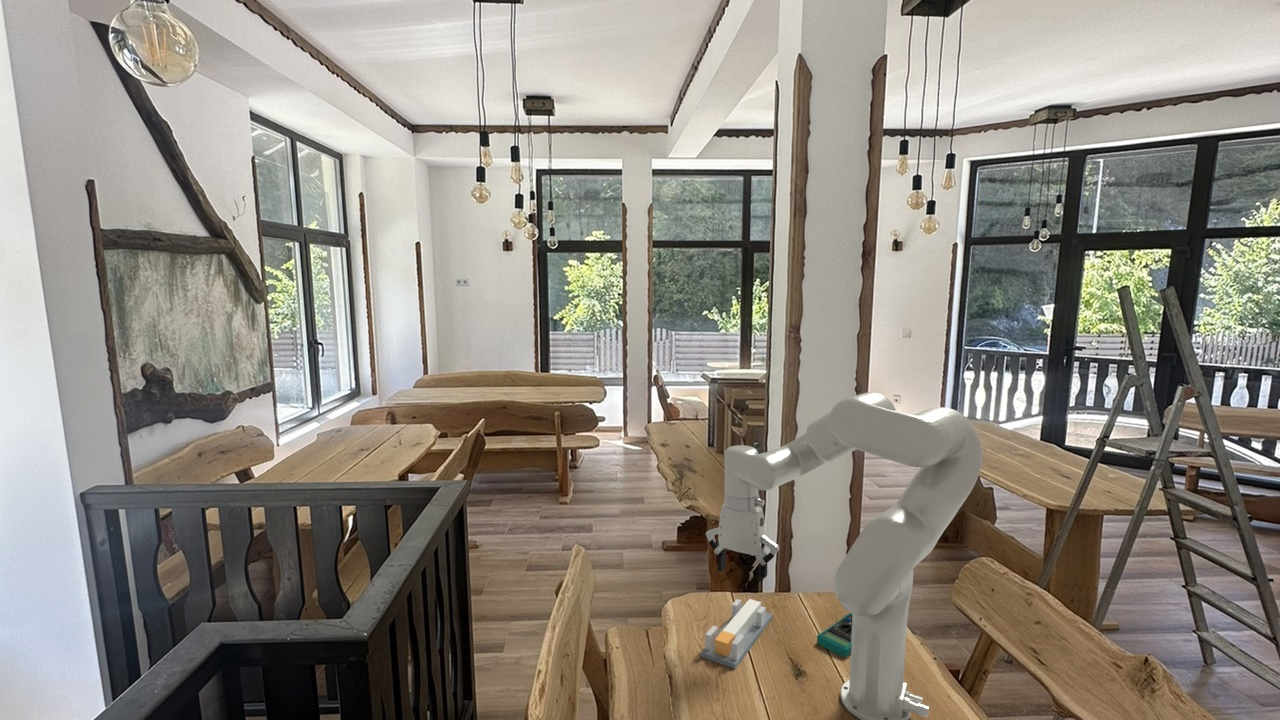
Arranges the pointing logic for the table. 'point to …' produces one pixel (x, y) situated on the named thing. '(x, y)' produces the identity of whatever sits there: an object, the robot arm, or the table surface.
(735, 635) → the bar
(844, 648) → the digital multimeter
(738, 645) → the grey peg holder base
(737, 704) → the table surface
